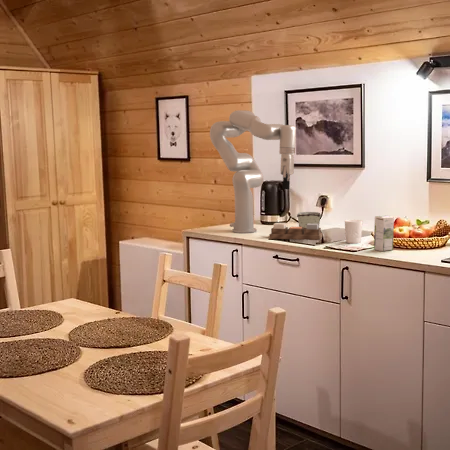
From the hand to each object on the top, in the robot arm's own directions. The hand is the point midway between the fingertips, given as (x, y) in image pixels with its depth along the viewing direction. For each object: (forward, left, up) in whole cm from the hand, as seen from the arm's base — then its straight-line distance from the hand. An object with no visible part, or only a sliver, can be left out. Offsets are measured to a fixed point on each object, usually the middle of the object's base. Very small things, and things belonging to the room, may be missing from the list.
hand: (285, 189), depth 334 cm
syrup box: (+57, -15, -23) cm, 63 cm away
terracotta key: (+7, -2, -21) cm, 22 cm away
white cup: (+37, -2, -23) cm, 44 cm away
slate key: (+14, +1, -19) cm, 24 cm away
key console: (+7, -2, -23) cm, 24 cm away
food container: (+3, +18, -23) cm, 30 cm away
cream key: (-1, -5, -19) cm, 20 cm away
